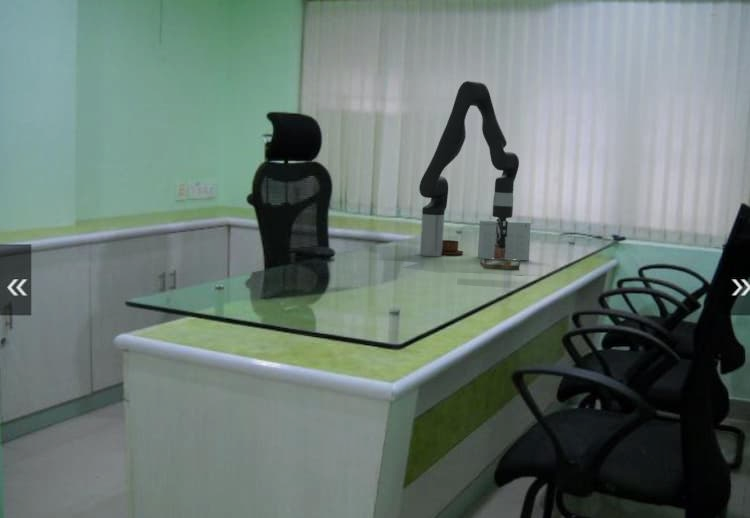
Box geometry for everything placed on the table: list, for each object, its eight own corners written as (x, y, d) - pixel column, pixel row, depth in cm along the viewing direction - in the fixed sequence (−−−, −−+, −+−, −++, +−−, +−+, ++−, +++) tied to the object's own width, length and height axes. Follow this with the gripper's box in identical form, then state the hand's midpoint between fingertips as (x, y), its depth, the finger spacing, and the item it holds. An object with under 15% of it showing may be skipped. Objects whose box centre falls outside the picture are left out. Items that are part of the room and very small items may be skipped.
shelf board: (484, 268, 307) (485, 258, 307) (480, 263, 324) (480, 254, 323) (519, 269, 307) (520, 260, 307) (513, 264, 324) (513, 255, 323)
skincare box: (527, 260, 345) (530, 222, 343) (528, 261, 340) (531, 223, 338) (477, 257, 347) (479, 219, 345) (477, 258, 342) (479, 220, 340)
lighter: (499, 264, 311) (501, 238, 310) (491, 263, 313) (493, 237, 312) (506, 262, 318) (508, 237, 317) (498, 261, 320) (500, 236, 319)
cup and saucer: (466, 257, 345) (467, 242, 345) (438, 256, 344) (438, 241, 343) (459, 254, 357) (460, 240, 357) (432, 253, 356) (433, 239, 355)
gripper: (515, 206, 306) (512, 249, 308) (510, 204, 320) (507, 246, 322) (495, 205, 306) (492, 248, 308) (491, 203, 320) (488, 245, 322)
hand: (500, 247), depth 315 cm, fingers open, 8 cm apart
